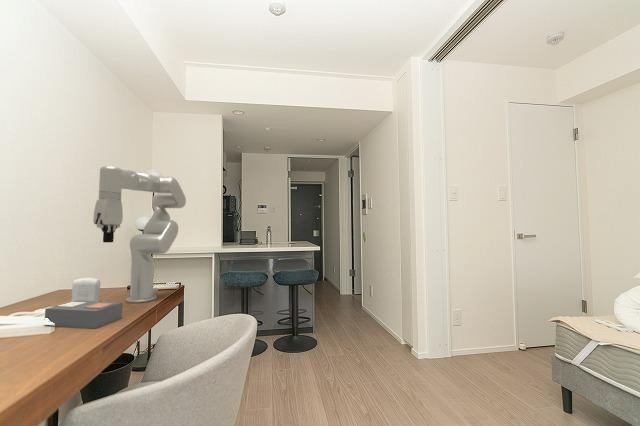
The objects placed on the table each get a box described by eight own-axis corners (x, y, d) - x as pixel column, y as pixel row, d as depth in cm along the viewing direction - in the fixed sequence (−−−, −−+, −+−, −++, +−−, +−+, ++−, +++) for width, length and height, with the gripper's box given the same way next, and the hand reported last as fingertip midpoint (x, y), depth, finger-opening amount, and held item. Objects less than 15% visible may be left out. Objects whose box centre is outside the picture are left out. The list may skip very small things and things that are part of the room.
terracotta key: (98, 314, 113) (98, 302, 113) (112, 315, 112) (113, 303, 112) (84, 319, 107) (84, 307, 107) (99, 320, 106) (100, 307, 106)
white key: (71, 313, 114) (72, 301, 114) (86, 314, 113) (86, 302, 113) (56, 318, 108) (57, 305, 108) (71, 319, 107) (72, 306, 107)
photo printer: (101, 304, 133) (102, 277, 134) (95, 307, 129) (96, 278, 130) (75, 305, 132) (77, 277, 132) (69, 307, 128) (70, 278, 128)
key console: (75, 315, 117) (76, 300, 117) (121, 318, 115) (122, 302, 115) (44, 325, 105) (45, 308, 105) (95, 328, 103) (96, 311, 103)
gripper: (115, 198, 129) (114, 241, 128) (85, 195, 114) (83, 243, 113) (132, 198, 128) (130, 241, 127) (103, 195, 113) (101, 243, 112)
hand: (108, 242), depth 120 cm, fingers closed
